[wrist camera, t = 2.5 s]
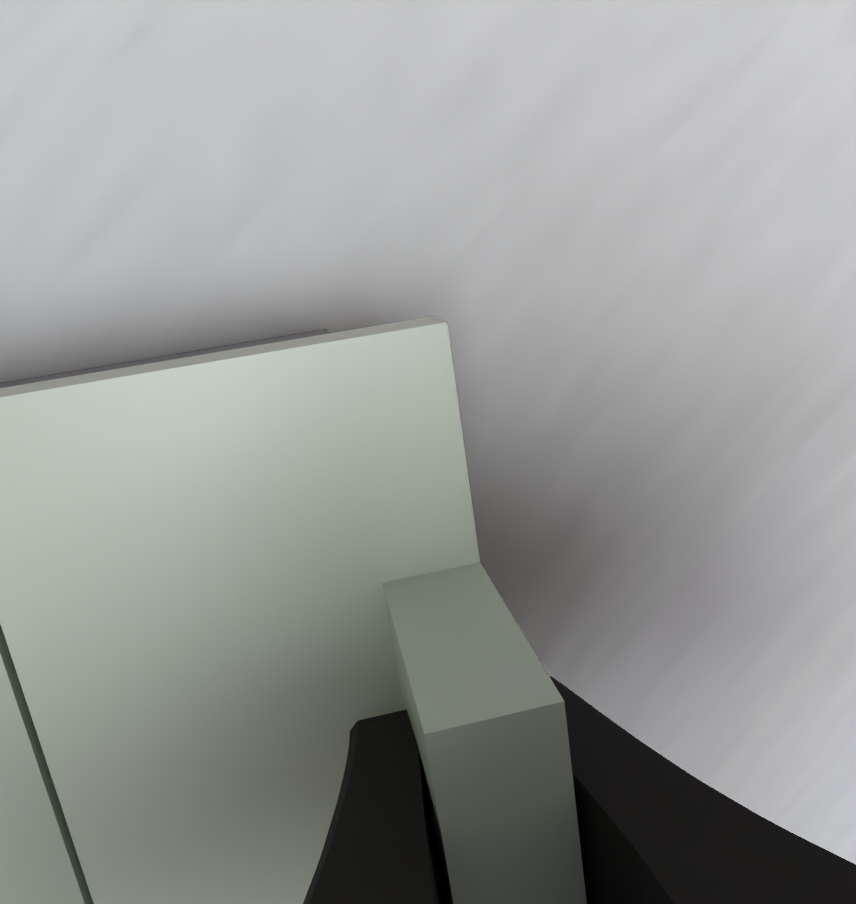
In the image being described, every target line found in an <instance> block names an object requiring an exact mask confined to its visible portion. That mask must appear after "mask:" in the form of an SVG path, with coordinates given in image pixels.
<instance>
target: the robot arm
mask: <svg viewBox="0 0 856 904" xmlns="http://www.w3.org/2000/svg"><path fill="white" fill-rule="evenodd" d="M549 677H550V678H551V680H552V682H553V683H554V685H555V687H556V688H557V690H558V691H559V693H560V695H561V696H562V698H563V700H564V702H565V711H566V720H567V729H568V738H569V747H570V756H571V765H572V774H573V783H574V792H575V801H576V810H577V819H578V828H579V837H580V847H581V856H582V865H583V874H584V883H585V892H586V901H587V904H856V865H855V864H853V863H851V862H849V861H847V860H845V859H843V858H841V857H839V856H837V855H835V854H833V853H831V852H829V851H827V850H825V849H823V848H821V847H819V846H817V845H815V844H813V843H811V842H809V841H807V840H805V839H803V838H801V837H799V836H797V835H795V834H793V833H791V832H789V831H787V830H785V829H783V828H781V827H779V826H778V825H776V824H774V823H772V822H770V821H768V820H766V819H765V818H763V817H761V816H759V815H757V814H756V813H754V812H752V811H750V810H749V809H747V808H745V807H744V806H742V805H740V804H738V803H737V802H735V801H733V800H732V799H730V798H728V797H727V796H725V795H723V794H721V793H720V792H718V791H716V790H715V789H713V788H711V787H710V786H708V785H706V784H704V783H703V782H701V781H700V780H698V779H697V778H695V777H693V776H692V775H690V774H689V773H687V772H685V771H684V770H683V769H681V768H680V767H678V766H677V765H675V764H674V763H672V762H671V761H669V760H668V759H666V758H665V757H663V756H662V755H660V754H659V753H657V752H656V751H654V750H653V749H651V748H650V747H648V746H647V745H645V744H644V743H642V742H641V741H639V740H638V739H637V738H635V737H634V736H632V735H631V734H629V733H628V732H627V731H625V730H624V729H622V728H621V727H620V726H618V725H617V724H616V723H614V722H613V721H611V720H610V719H609V718H607V717H606V716H604V715H603V714H602V713H600V712H599V711H598V710H596V709H595V708H594V707H592V706H591V705H590V704H588V703H587V702H586V701H584V700H583V699H582V698H580V697H579V696H577V695H576V694H575V693H573V692H572V691H571V690H569V689H568V688H567V687H565V686H564V685H562V684H561V683H560V682H558V681H557V680H555V679H554V678H553V677H551V676H549ZM303 904H445V899H444V894H443V888H442V882H441V877H440V871H439V865H438V859H437V854H436V848H435V842H434V837H433V831H432V825H431V819H430V814H429V808H428V802H427V796H426V791H425V785H424V779H423V774H422V768H421V762H420V756H419V751H418V745H417V741H416V738H415V735H414V731H413V728H412V725H411V722H410V718H409V715H408V712H407V709H406V710H401V711H397V712H393V713H388V714H384V715H380V716H375V717H371V718H367V719H362V720H358V721H357V722H356V723H355V725H354V726H353V727H352V729H351V730H350V736H349V748H348V755H347V761H346V766H345V771H344V776H343V780H342V784H341V788H340V792H339V796H338V800H337V804H336V807H335V811H334V814H333V817H332V821H331V824H330V827H329V830H328V834H327V837H326V840H325V844H324V847H323V850H322V853H321V856H320V859H319V862H318V865H317V868H316V870H315V873H314V876H313V878H312V881H311V884H310V886H309V889H308V892H307V894H306V897H305V900H304V902H303Z"/></svg>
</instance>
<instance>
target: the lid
mask: <svg viewBox="0 0 856 904" xmlns="http://www.w3.org/2000/svg"><path fill="white" fill-rule="evenodd" d="M406 709H407V712H408V715H409V718H410V722H411V725H412V728H413V731H414V735H415V738H416V741H417V745H418V751H419V756H420V762H421V768H422V774H423V779H424V785H425V791H426V796H427V802H428V808H429V814H430V819H431V825H432V831H433V837H434V842H435V848H436V854H437V859H438V865H439V871H440V877H441V882H442V888H443V894H444V899H445V904H587V901H586V892H585V883H584V874H583V865H582V856H581V847H580V837H579V828H578V819H577V810H576V801H575V792H574V783H573V774H572V765H571V756H570V747H569V738H568V729H567V720H566V711H565V702H564V700H563V698H562V696H561V695H560V693H559V691H558V690H557V688H556V687H555V685H554V683H553V682H552V680H551V678H550V677H549V675H548V673H547V672H546V670H545V668H544V667H543V665H542V663H541V662H540V660H539V658H538V657H537V655H536V654H535V652H534V650H533V649H532V647H531V645H530V644H529V642H528V640H527V639H526V637H525V635H524V634H523V632H522V630H521V629H520V627H519V625H518V624H517V622H516V621H515V619H514V617H513V616H512V614H511V612H510V611H509V609H508V607H507V606H506V604H505V602H504V601H503V599H502V597H501V596H500V594H499V592H498V591H497V589H496V588H495V586H494V584H493V583H492V581H491V579H490V578H489V576H488V574H487V573H486V571H485V569H484V568H483V566H482V564H481V563H480V557H479V550H478V543H477V535H476V528H475V521H474V514H473V506H472V499H471V492H470V485H469V477H468V470H467V463H466V455H465V448H464V441H463V434H462V426H461V419H460V412H459V405H458V397H457V390H456V383H455V376H454V368H453V361H452V354H451V347H450V339H449V332H448V325H447V322H446V321H444V320H442V319H440V318H437V317H435V316H431V317H425V318H419V319H413V320H407V321H401V322H395V323H389V324H383V325H377V326H371V327H365V328H359V329H353V330H347V331H341V332H335V333H329V334H323V335H317V336H311V337H305V338H299V339H293V340H287V341H281V342H275V343H269V344H263V345H257V346H251V347H245V348H239V349H233V350H227V351H221V352H215V353H209V354H203V355H197V356H191V357H185V358H179V359H173V360H167V361H161V362H155V363H149V364H143V365H137V366H131V367H125V368H119V369H113V370H107V371H101V372H95V373H89V374H83V375H77V376H71V377H65V378H59V379H53V380H47V381H41V382H35V383H29V384H23V385H17V386H11V387H5V388H0V904H303V902H304V900H305V897H306V894H307V892H308V889H309V886H310V884H311V881H312V878H313V876H314V873H315V870H316V868H317V865H318V862H319V859H320V856H321V853H322V850H323V847H324V844H325V840H326V837H327V834H328V830H329V827H330V824H331V821H332V817H333V814H334V811H335V807H336V804H337V800H338V796H339V792H340V788H341V784H342V780H343V776H344V771H345V766H346V761H347V755H348V748H349V736H350V730H351V729H352V727H353V726H354V725H355V723H356V722H357V721H358V720H362V719H367V718H371V717H375V716H380V715H384V714H388V713H393V712H397V711H401V710H406Z"/></svg>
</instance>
